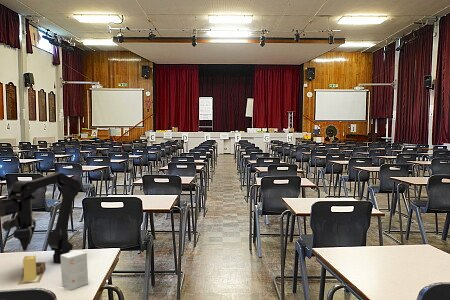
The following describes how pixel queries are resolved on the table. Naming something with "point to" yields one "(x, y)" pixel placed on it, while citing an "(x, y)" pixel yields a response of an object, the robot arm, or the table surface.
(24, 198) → the robot arm
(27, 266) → the block
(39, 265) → the pocket
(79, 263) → the small box
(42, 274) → the board
